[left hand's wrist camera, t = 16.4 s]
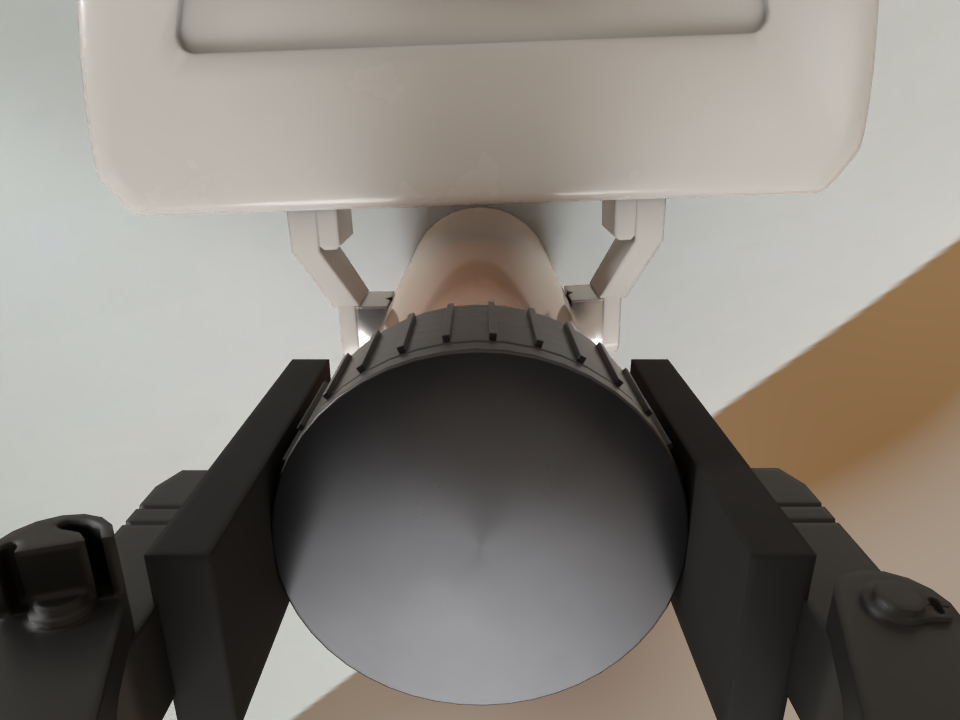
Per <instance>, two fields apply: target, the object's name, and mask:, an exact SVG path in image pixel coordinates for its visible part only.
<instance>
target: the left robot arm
mask: <svg viewBox="0 0 960 720" xmlns="http://www.w3.org/2000/svg"><path fill="white" fill-rule="evenodd" d="M630 374H631V376H632V377H633V379H634V381H635V382H636V384H637V386H638V388H639V389H640V391H641V393H642V395H643V396H644V398H645V399H646V400H647V402H648V404H649V405H650V407H651V409H652V411H653V412H654V414H655V416H656V418H657V419H658V421H659V423H660V424H661V426H662V428H663V430H664V431H665V433H666V435H667V437H668V438H669V440H670V442H671V444H672V446H673V449H670V450H669V451H670V453H671V455H672V457H673V459H674V461H675V463H676V465H677V467H678V470H679V472H680V475H681V476H682V478H683V481H684V489H685V492H686V496H687V503H688V511H689V518H690V519H689V538H688V546H687V554H686V561H685V566H684V569H683V572H682V575H681V578H680V581H679V584H678V587H677V589H676V591H675V593H674V595H673V597H672V599H671V603H672V605H673V608H674V610H675V613H676V615H677V618H678V621H679V623H680V626H681V628H682V631H683V633H684V636H685V639H686V641H687V644H688V646H689V649H690V651H691V654H692V656H693V659H694V662H695V664H696V667H697V669H698V672H699V674H700V677H701V680H702V682H703V685H704V687H705V690H706V692H707V695H708V697H709V700H710V703H711V705H712V708H713V710H714V713H715V716H716V718H717V720H783V717H784V712H785V708H786V702H787V698H789V700H790V702H791V704H792V705H793V707H794V709H795V711H796V713H797V715H798V717H799V719H800V720H960V614H959V613H958V612H957V611H956V609H955V608H954V607H953V606H952V604H951V603H950V602H948V601H947V600H946V599H944V598H943V597H942V596H940V595H939V594H937V593H936V592H935V591H933V590H932V589H930V588H928V587H926V586H924V585H922V584H920V583H917V582H915V581H913V580H911V579H909V578H906V577H902V576H899V575H895V574H891V573H888V572H884V571H880V570H879V569H878V567H877V566H876V565H875V564H874V563H873V562H872V561H871V559H870V558H869V557H868V556H867V555H866V554H865V553H864V551H863V550H862V549H861V548H860V547H859V546H858V545H857V543H856V542H855V541H854V540H853V539H852V538H851V536H850V535H849V534H848V533H847V532H846V531H845V530H844V529H843V527H842V526H841V525H840V524H839V523H835V518H834V517H833V516H832V515H831V514H830V512H829V511H828V510H827V509H826V508H825V507H822V506H821V502H820V501H819V500H818V499H817V498H816V496H815V495H814V494H813V493H812V492H811V491H810V490H809V488H808V487H807V486H806V485H805V484H803V483H802V482H800V481H799V480H797V479H795V478H794V477H792V476H790V475H789V474H787V473H785V472H784V471H782V470H781V469H779V468H750V467H749V465H748V464H747V463H746V461H745V460H744V459H743V457H742V456H741V455H740V453H739V452H738V451H737V450H736V448H735V447H734V446H733V444H732V443H731V442H730V440H729V439H728V438H727V436H726V435H725V434H724V432H723V431H722V430H721V428H720V427H719V426H718V425H717V423H716V422H715V421H714V419H713V418H712V417H711V415H710V414H709V413H708V411H707V410H706V409H705V407H704V406H703V405H702V404H701V402H700V401H699V400H698V398H697V397H696V396H695V394H694V393H693V392H692V390H691V389H690V388H689V386H688V385H687V384H686V382H685V381H684V380H683V379H682V377H681V376H680V375H679V373H678V372H677V371H676V369H675V368H674V367H673V365H672V364H671V363H670V361H669V360H668V359H631V370H630ZM324 381H325V382H327V383H329V382H330V381H331V377H330V365H329V359H292V361H291V362H290V363H289V365H288V366H287V367H286V369H285V370H284V371H283V373H282V374H281V375H280V377H279V378H278V379H277V380H276V382H275V383H274V384H273V386H272V387H271V388H270V390H269V391H268V392H267V394H266V395H265V396H264V398H263V399H262V400H261V401H260V403H259V404H258V405H257V407H256V408H255V409H254V411H253V412H252V413H251V415H250V416H249V417H248V419H247V420H246V421H245V423H244V424H243V425H242V426H241V428H240V429H239V430H238V432H237V433H236V434H235V436H234V437H233V438H232V440H231V441H230V442H229V444H228V445H227V446H226V447H225V449H224V450H223V451H222V453H221V454H220V455H219V457H218V458H217V459H216V461H215V462H214V463H213V465H212V466H211V467H210V469H209V470H182V471H181V472H179V473H177V474H176V475H174V476H172V477H171V478H169V479H168V480H166V481H164V482H163V483H161V484H159V485H158V486H156V487H155V488H154V489H153V491H152V492H151V493H150V494H149V495H148V496H147V497H146V499H145V500H144V501H143V502H142V503H141V504H140V508H139V509H136V510H135V511H134V512H133V514H132V515H131V516H130V517H129V518H128V519H127V521H126V525H122V526H121V527H120V529H119V530H118V531H117V532H116V533H115V534H114V531H113V527H112V524H110V523H109V522H108V521H106V520H105V519H104V518H102V517H98V516H92V515H87V514H78V515H62V516H58V517H54V518H49V519H45V520H41V521H37V522H34V523H32V524H30V525H27V526H25V527H22V528H20V529H17V530H15V531H12V532H11V533H9V534H8V535H6V536H4V537H3V538H1V539H0V720H162V719H163V717H164V715H165V714H166V712H167V710H168V708H169V706H170V704H171V702H172V700H173V701H174V705H175V710H176V715H177V720H243V719H244V717H245V714H246V711H247V709H248V706H249V704H250V701H251V699H252V696H253V694H254V691H255V688H256V686H257V683H258V681H259V678H260V676H261V673H262V670H263V668H264V665H265V663H266V660H267V658H268V655H269V652H270V650H271V647H272V645H273V642H274V640H275V637H276V635H277V632H278V629H279V627H280V624H281V622H282V619H283V617H284V614H285V611H286V609H287V606H288V604H289V599H288V597H287V595H286V593H285V591H284V588H283V585H282V583H281V580H280V578H279V575H278V573H277V568H276V564H275V558H274V551H273V542H272V534H271V513H272V502H273V498H274V494H275V489H276V485H277V481H278V478H279V475H280V473H281V471H282V468H283V465H281V462H282V459H283V457H284V455H285V454H286V452H287V450H288V448H289V447H290V445H291V443H292V441H293V440H294V438H295V436H296V434H297V433H298V431H299V430H298V429H297V427H298V425H299V424H300V422H301V420H302V418H303V417H304V415H305V413H306V412H307V410H308V408H309V406H310V405H311V403H312V401H313V400H314V398H315V396H316V394H317V393H318V391H319V389H320V388H321V386H322V384H323V383H324Z"/></svg>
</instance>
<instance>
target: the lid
mask: <svg viewBox="0 0 960 720" xmlns="http://www.w3.org/2000/svg"><path fill="white" fill-rule="evenodd" d="M297 429H298V430H299V431H298V433H297V434H296V436H295V438H294V440H293V441H292V443H291V445H290V447H289V448H288V450H287V452H286V454H285V455H284V457H283V459H282V462H281V465H283V468H282V471H281V473H280V475H279V478H278V481H277V485H276V489H275V494H274V498H273V502H272V513H271V534H272V542H273V551H274V558H275V564H276V568H277V573H278V575H279V578H280V580H281V583H282V585H283V588H284V591H285V593H286V595H287V597H288V599H289V601H290V602H291V604H292V606H293V608H294V609H295V611H296V613H297V615H298V616H299V617H300V619H301V620H302V621H303V623H304V624H305V625H306V626H307V628H308V629H309V630H310V632H311V633H312V634H313V635H314V636H315V637H316V638H317V639H318V640H319V641H320V642H321V643H322V644H323V645H324V646H325V647H326V648H327V649H328V650H329V651H330V652H331V653H333V654H334V655H335V656H336V657H338V658H339V659H340V660H341V661H343V662H344V663H345V664H347V665H348V666H350V667H351V668H353V669H355V670H356V671H358V672H359V673H361V674H363V675H364V676H366V677H368V678H370V679H372V680H374V681H376V682H378V683H380V684H382V685H384V686H387V687H389V688H392V689H395V690H397V691H400V692H403V693H406V694H409V695H412V696H416V697H420V698H424V699H428V700H432V701H438V702H445V703H453V704H461V705H496V704H510V703H516V702H522V701H528V700H533V699H537V698H540V697H544V696H548V695H551V694H555V693H558V692H560V691H563V690H566V689H568V688H571V687H573V686H576V685H578V684H580V683H582V682H584V681H586V680H588V679H590V678H592V677H594V676H596V675H598V674H600V673H601V672H603V671H604V670H606V669H607V668H609V667H610V666H612V665H613V664H615V663H616V662H618V661H619V660H620V659H622V658H623V657H624V656H625V655H626V654H627V653H628V652H630V651H631V650H632V649H633V648H634V647H636V646H637V645H638V644H639V643H640V642H641V641H642V639H643V638H644V637H645V636H646V635H647V634H648V633H649V632H650V631H651V629H652V628H653V627H654V626H655V624H656V623H657V621H658V620H659V619H660V617H661V616H662V614H663V613H664V611H665V610H666V609H667V607H668V605H669V603H670V601H671V599H672V597H673V595H674V593H675V591H676V589H677V587H678V584H679V581H680V578H681V575H682V572H683V569H684V566H685V561H686V554H687V546H688V538H689V519H690V518H689V511H688V503H687V496H686V492H685V489H684V481H683V478H682V476H681V475H680V472H679V470H678V467H677V465H676V463H675V461H674V459H673V457H672V455H671V453H670V451H669V450H670V449H673V446H672V444H671V442H670V440H669V438H668V437H667V435H666V433H665V431H664V430H663V428H662V426H661V424H660V423H659V421H658V419H657V418H656V416H655V414H654V412H653V411H652V409H651V407H650V405H649V404H648V402H647V400H646V399H645V398H644V396H643V395H642V393H641V391H640V389H639V388H638V386H637V384H636V382H635V381H634V379H633V377H632V376H631V374H630V372H629V371H628V369H627V368H625V369H624V370H622V369H621V368H620V367H619V366H618V365H617V364H616V363H615V361H614V360H613V359H612V358H611V357H610V356H609V354H608V352H607V350H606V348H605V346H604V345H603V344H602V343H601V342H599V343H598V344H597V345H596V344H595V343H594V342H593V341H592V340H590V339H589V338H587V337H586V336H584V335H583V334H581V333H579V332H578V331H576V330H575V329H574V328H573V325H572V323H570V322H568V321H566V322H565V324H563V323H561V322H559V321H556V320H554V319H552V318H550V317H547V316H544V315H541V314H538V313H536V312H535V309H534V308H530V307H529V308H528V310H524V309H518V308H512V307H507V306H500V305H495V302H488V305H477V304H476V305H464V306H454V303H450V304H447V308H442V309H438V310H433V311H428V312H425V313H422V314H419V315H417V316H415V313H411V314H409V315H408V317H407V319H405V320H403V321H401V322H399V323H397V324H395V325H393V326H391V327H389V328H387V329H385V330H383V331H382V332H380V331H379V330H376V331H375V332H373V334H372V336H371V338H370V340H369V341H367V342H366V343H365V344H363V345H362V346H361V347H360V348H359V349H358V350H357V351H356V352H355V353H353V354H352V355H350V354H349V353H347V354H346V355H345V356H344V357H343V359H342V361H341V363H340V365H339V366H338V368H337V370H336V372H335V374H334V375H333V377H332V379H331V381H330V382H329V383H327V382H325V381H324V383H323V384H322V386H321V388H320V389H319V391H318V393H317V394H316V396H315V398H314V400H313V401H312V403H311V405H310V406H309V408H308V410H307V412H306V413H305V415H304V417H303V418H302V420H301V422H300V424H299V425H298V427H297Z"/></svg>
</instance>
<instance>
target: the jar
mask: <svg viewBox="0 0 960 720" xmlns="http://www.w3.org/2000/svg"><path fill="white" fill-rule="evenodd" d="M488 302H495V305H500V306H507V307H512V308H518V309H524V310H528V308H529V307H530V308H534V309H535V312H536V313H538V314H541V315H544V316H547V317H550V318H552V319H554V320H556V321H559V322H561V323H563V324H565V322H566V321H568V322H570V323H572V325H573V328H574V329H575V330H576V331H578V332H579V333H581V334H583V335H584V333H583V331H582V328H581V326H580V324H579V322H578V320H577V318H576V316H575V314H574V311H573V309H572V307H571V305H570V303H569V301H568V299H567V297H566V294H565V292H564V290H563V288H562V286H561V284H560V282H559V280H558V277H557V275H556V273H555V271H554V269H553V267H552V265H551V263H550V260H549V258H548V256H547V254H546V252H545V250H544V248H543V246H542V244H541V242H540V240H539V239H538V237H537V236H536V235H535V233H534V232H533V231H532V230H531V229H530V228H529V227H528V226H527V225H526V224H525V223H524V222H522V221H521V220H520V219H518V218H517V217H515V216H513V215H511V214H509V213H507V212H504V211H502V210H498V209H494V208H486V207H473V208H467V209H462V210H459V211H456V212H453V213H451V214H449V215H447V216H445V217H444V218H442V219H440V220H439V221H438V222H436V223H435V224H434V225H433V226H432V227H431V228H430V229H429V230H428V231H427V232H426V233H425V235H424V236H423V238H422V239H421V240H420V242H419V244H418V246H417V248H416V250H415V252H414V255H413V257H412V259H411V261H410V263H409V265H408V267H407V269H406V272H405V274H404V276H403V278H402V280H401V282H400V284H399V286H398V289H397V291H396V293H395V295H394V297H393V299H392V301H391V303H390V306H389V308H388V310H387V312H386V314H385V316H384V318H383V320H382V323H381V325H380V327H379V329H378V330H379V331H380V332H382V331H383V330H385V329H387V328H389V327H391V326H393V325H395V324H397V323H399V322H401V321H403V320H405V319H407V317H408V315H409V314H411V313H415V316H417V315H419V314H422V313H425V312H428V311H433V310H438V309H442V308H447V304H450V303H454V306H464V305H476V304H477V305H488ZM584 336H585V335H584Z"/></svg>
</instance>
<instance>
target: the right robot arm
mask: <svg viewBox="0 0 960 720" xmlns="http://www.w3.org/2000/svg"><path fill="white" fill-rule="evenodd" d="M77 1H78V23H79V40H80V57H81V68H82V78H83V88H84V97H85V105H86V113H87V120H88V127H89V133H90V140H91V146H92V152H93V157H94V162H95V166H96V170H97V172H98V175H99V178H100V179H101V181H102V182H103V184H104V185H105V186H106V187H107V188H108V189H109V190H110V191H111V192H112V193H113V194H114V195H115V196H116V197H117V198H118V199H119V200H120V201H121V202H122V203H123V204H124V205H125V206H126V207H127V208H128V209H129V210H130V211H131V212H133V213H134V214H136V215H139V216H165V215H194V214H223V213H252V212H281V211H287V217H288V225H289V233H290V240H291V248H292V252H293V254H294V255H295V256H296V258H297V259H298V260H299V262H300V263H301V264H302V266H303V267H304V268H305V270H306V271H307V272H308V274H309V275H310V276H311V278H312V279H313V280H314V282H315V283H316V284H317V286H318V287H319V288H320V290H321V291H322V292H323V294H324V295H325V296H326V298H327V299H328V300H329V302H330V303H331V304H332V306H333V307H338V312H339V321H340V330H341V339H342V347H343V354H344V356H345V355H346V354H347V353H349V354H350V355H352V354H353V353H355V352H356V351H357V350H358V349H359V348H360V347H361V346H362V345H363V344H365V343H366V342H367V341H369V340H370V338H371V336H372V334H373V332H375V331H376V330H378V329H379V327H380V325H381V323H382V320H383V318H384V316H385V314H386V312H387V310H388V308H389V306H390V303H391V301H392V299H393V297H394V295H395V294H394V292H368V291H369V290H368V288H367V287H366V285H365V284H364V282H363V281H362V279H361V278H360V276H359V275H358V273H357V272H356V270H355V269H354V267H353V266H352V264H351V263H350V261H349V260H348V258H347V257H346V255H345V254H344V252H343V251H342V249H341V248H340V246H341V245H342V244H343V243H344V242H345V241H346V240H347V239H348V238H349V237H350V236H351V235H352V234H353V227H352V216H351V209H368V208H397V207H427V206H456V205H485V204H514V203H543V202H572V201H601V200H602V225H603V226H604V227H605V228H606V229H607V230H608V231H609V232H610V233H611V234H612V235H614V236H615V237H616V238H615V240H614V242H613V243H612V245H611V247H610V249H609V250H608V252H607V254H606V256H605V257H604V259H603V261H602V262H601V264H600V266H599V268H598V269H597V271H596V273H595V275H594V276H593V278H592V280H591V282H590V285H572V286H564V292H565V294H566V297H567V299H568V301H569V303H570V305H571V307H572V309H573V311H574V314H575V316H576V318H577V320H578V322H579V324H580V326H581V328H582V331H583V333H584V335H585V336H586V337H587V338H589V339H590V340H592V341H593V342H594V343H595V344H596V345H597V344H598V343H599V342H601V343H602V344H603V345H604V346H605V348H606V350H607V352H616V351H617V350H618V346H619V336H620V311H621V298H625V297H626V296H627V294H628V293H629V291H630V290H631V288H632V287H633V285H634V284H635V282H636V281H637V279H638V277H639V276H640V274H641V273H642V271H643V270H644V268H645V267H646V265H647V264H648V262H649V261H650V259H651V258H652V256H653V255H654V253H655V252H656V250H657V248H658V247H659V245H660V244H661V242H662V241H663V235H664V220H665V204H666V198H688V197H717V196H746V195H775V194H802V193H818V192H821V191H823V190H825V189H826V188H828V186H829V185H830V184H831V183H832V182H833V181H834V180H835V179H836V178H837V177H838V176H839V175H840V174H841V172H842V171H843V170H844V169H845V168H846V166H847V165H848V164H849V163H850V162H851V160H852V159H853V158H854V157H855V156H856V154H857V152H858V150H859V148H860V146H861V143H862V139H863V136H864V131H865V126H866V121H867V115H868V108H869V101H870V94H871V86H872V78H873V69H874V59H875V49H876V36H877V21H878V4H879V0H77Z"/></svg>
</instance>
